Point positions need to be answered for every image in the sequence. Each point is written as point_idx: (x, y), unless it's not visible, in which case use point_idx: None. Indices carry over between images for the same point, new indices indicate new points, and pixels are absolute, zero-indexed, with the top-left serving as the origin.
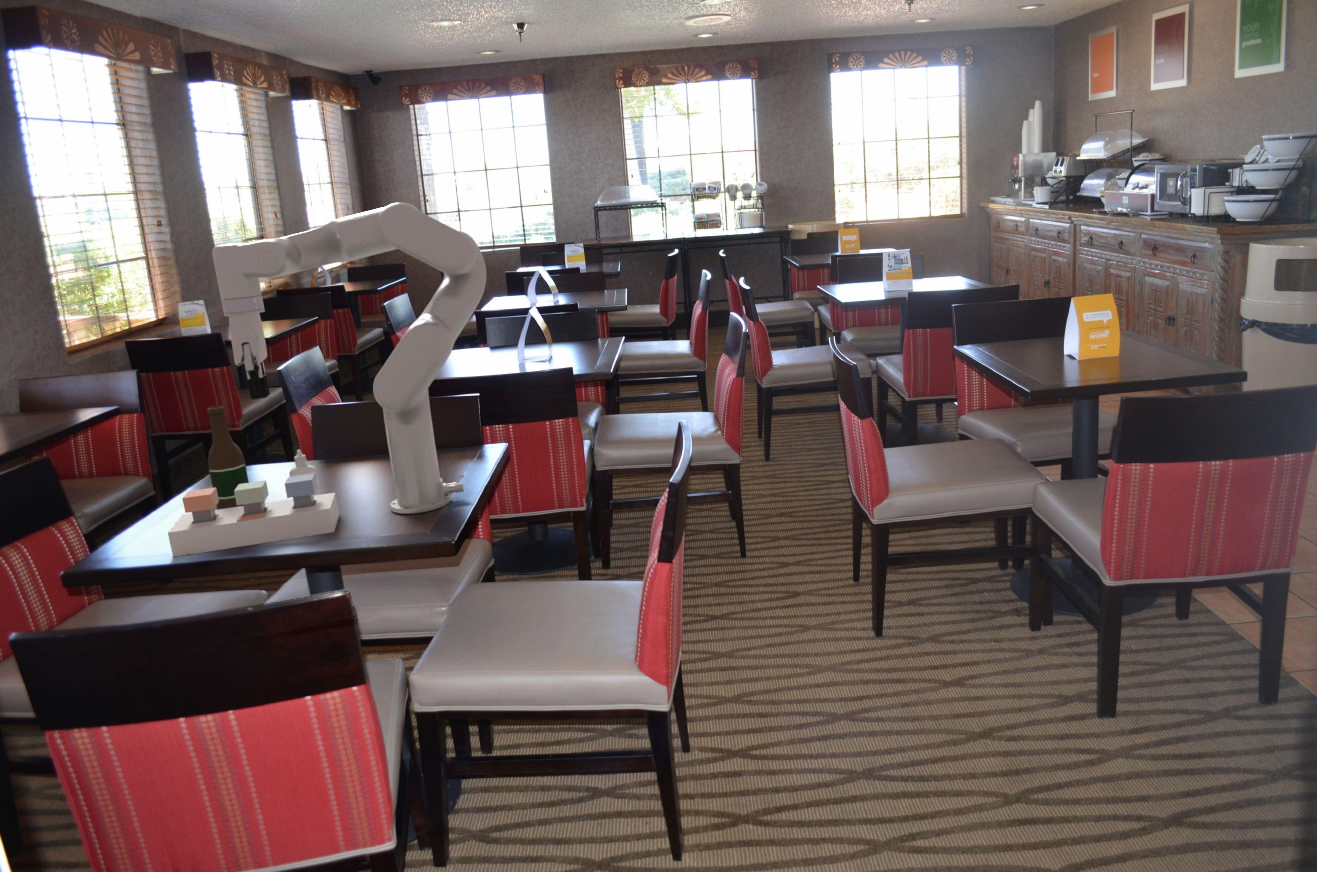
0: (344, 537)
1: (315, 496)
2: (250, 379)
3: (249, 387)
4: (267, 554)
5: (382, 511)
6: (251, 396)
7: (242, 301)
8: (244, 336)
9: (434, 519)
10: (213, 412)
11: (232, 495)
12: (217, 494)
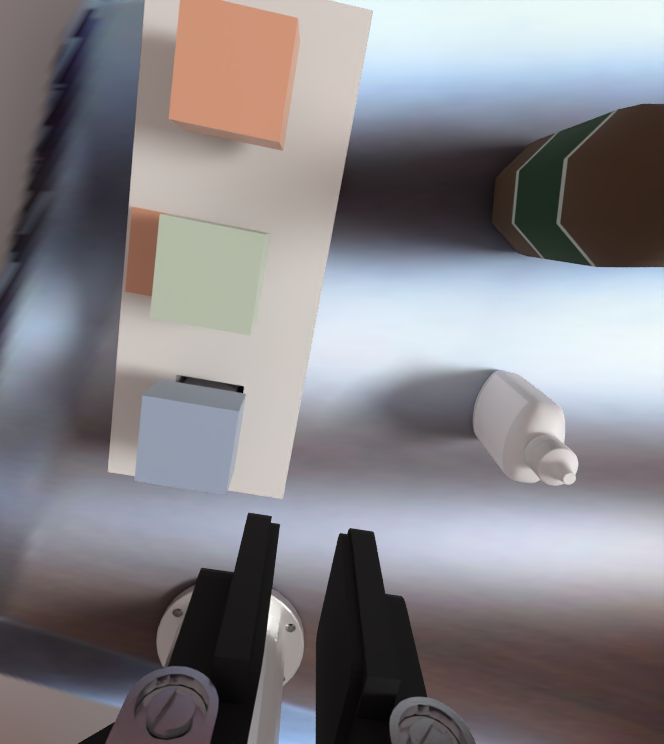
0: (71, 458)
1: (278, 445)
2: (154, 695)
3: (233, 586)
4: (34, 274)
5: None
6: (245, 526)
7: None
8: None
9: (93, 642)
10: None
11: (517, 197)
12: (278, 145)
